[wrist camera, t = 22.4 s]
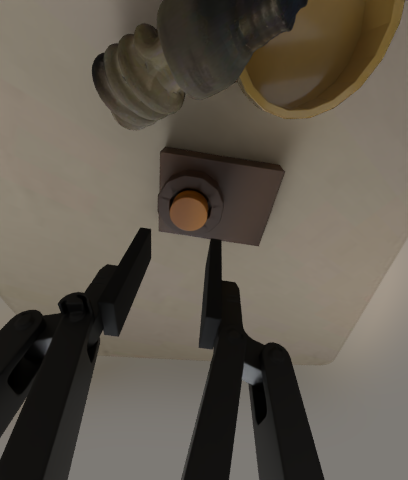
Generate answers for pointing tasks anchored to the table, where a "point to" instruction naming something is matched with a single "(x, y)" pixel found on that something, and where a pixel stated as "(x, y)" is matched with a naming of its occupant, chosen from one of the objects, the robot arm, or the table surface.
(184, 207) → the lamp button
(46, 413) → the robot arm
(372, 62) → the lamp holder
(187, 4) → the light bulb
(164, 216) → the switch box
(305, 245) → the table surface
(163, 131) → the table surface
